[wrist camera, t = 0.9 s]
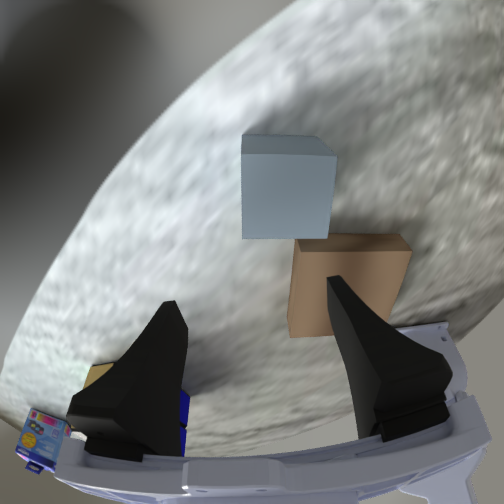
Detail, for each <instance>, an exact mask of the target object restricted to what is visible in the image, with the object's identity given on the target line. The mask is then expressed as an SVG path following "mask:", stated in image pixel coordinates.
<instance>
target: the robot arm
mask: <svg viewBox="0 0 504 504" xmlns="http://www.w3.org/2000/svg"><path fill="white" fill-rule="evenodd" d="M326 278H327V309H328V313H329V318H330V322H331V326H332V330H333V332H334V335H335V338H336V341H337V344H338V347H339V350H340V352H341V355H342V358H343V361H344V364H345V367H346V371H347V375H348V380H349V384H350V389H351V395H352V400H353V405H354V411H355V417H356V424H357V431H358V438H359V440H355V441H350V442H346V443H341V444H336V445H331V446H326V447H320V448H315V449H308V450H302V451H294V452H287V453H277V454H267V455H256V456H239V457H182V450H181V437H180V392H181V384H182V378H183V372H184V366H185V360H186V354H187V348H188V327H187V325H186V323H185V321H184V319H183V317H182V315H181V312H180V310H179V308H178V306H177V304H176V302H175V300H174V301H166V302H163V303H162V305H161V306H160V307H159V309H158V310H157V312H156V313H155V315H154V316H153V317H152V319H151V320H150V322H149V323H148V325H147V326H146V327H145V329H144V330H143V332H142V333H141V334H140V335H139V337H138V338H137V339H136V341H135V342H134V343H133V344H132V346H131V347H130V348H129V349H128V350H127V352H126V353H125V354H124V355H123V356H122V357H121V358H120V359H119V360H118V361H117V362H116V363H115V364H114V365H113V366H112V367H111V368H110V369H109V370H108V371H106V372H105V373H104V374H103V375H102V376H101V377H99V378H98V379H97V380H96V381H94V382H93V383H92V384H90V385H89V386H87V387H86V388H84V389H83V390H81V391H80V392H78V393H77V394H75V395H73V397H72V400H71V403H70V406H69V409H68V412H67V415H66V418H67V420H68V422H69V423H70V424H71V425H72V426H73V427H75V428H76V429H77V430H78V431H80V432H81V433H82V434H84V435H85V436H86V437H87V439H86V442H85V441H82V440H79V439H75V438H70V437H64V438H63V441H62V445H61V449H60V452H59V456H58V460H57V464H56V468H55V473H54V477H55V478H56V479H58V480H60V481H62V482H64V483H66V484H68V485H70V486H72V487H74V488H76V489H78V490H80V491H83V492H86V493H89V494H92V495H96V496H99V497H103V498H107V499H111V500H115V501H119V502H123V503H127V504H359V503H358V501H362V500H365V499H369V498H372V497H376V496H379V495H382V494H385V493H388V492H391V491H394V490H397V489H399V490H400V491H401V492H403V493H406V494H410V495H415V496H419V497H423V498H426V499H427V501H428V504H478V502H477V498H476V495H475V491H474V488H473V484H472V481H471V477H472V475H473V474H474V472H475V471H476V469H477V468H478V466H479V464H480V463H481V461H482V460H483V458H484V457H485V455H486V452H487V450H486V448H487V444H488V443H490V442H491V441H492V437H491V435H490V432H489V429H488V427H487V424H486V422H485V420H484V417H483V414H482V412H481V410H480V407H479V405H478V403H477V400H476V398H475V396H474V395H471V396H469V395H468V393H467V392H465V389H466V386H467V379H468V377H467V370H466V366H465V363H464V361H463V359H462V357H461V355H460V353H459V351H458V350H457V348H456V346H455V344H454V342H453V340H452V338H451V337H450V335H449V333H448V331H447V328H448V326H449V323H448V322H440V323H433V324H426V325H419V326H411V327H403V328H393V327H392V326H391V325H389V324H388V323H387V322H385V321H384V320H383V319H382V318H381V317H379V316H378V315H377V314H376V313H375V312H374V311H373V310H372V309H371V308H370V307H368V306H367V305H366V304H365V303H364V301H363V300H362V299H361V298H360V297H359V296H358V295H357V294H356V293H355V292H354V291H353V290H352V289H351V287H350V286H349V285H348V284H347V283H346V282H345V280H344V279H343V278H342V276H340V275H336V276H330V277H326Z"/></svg>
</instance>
